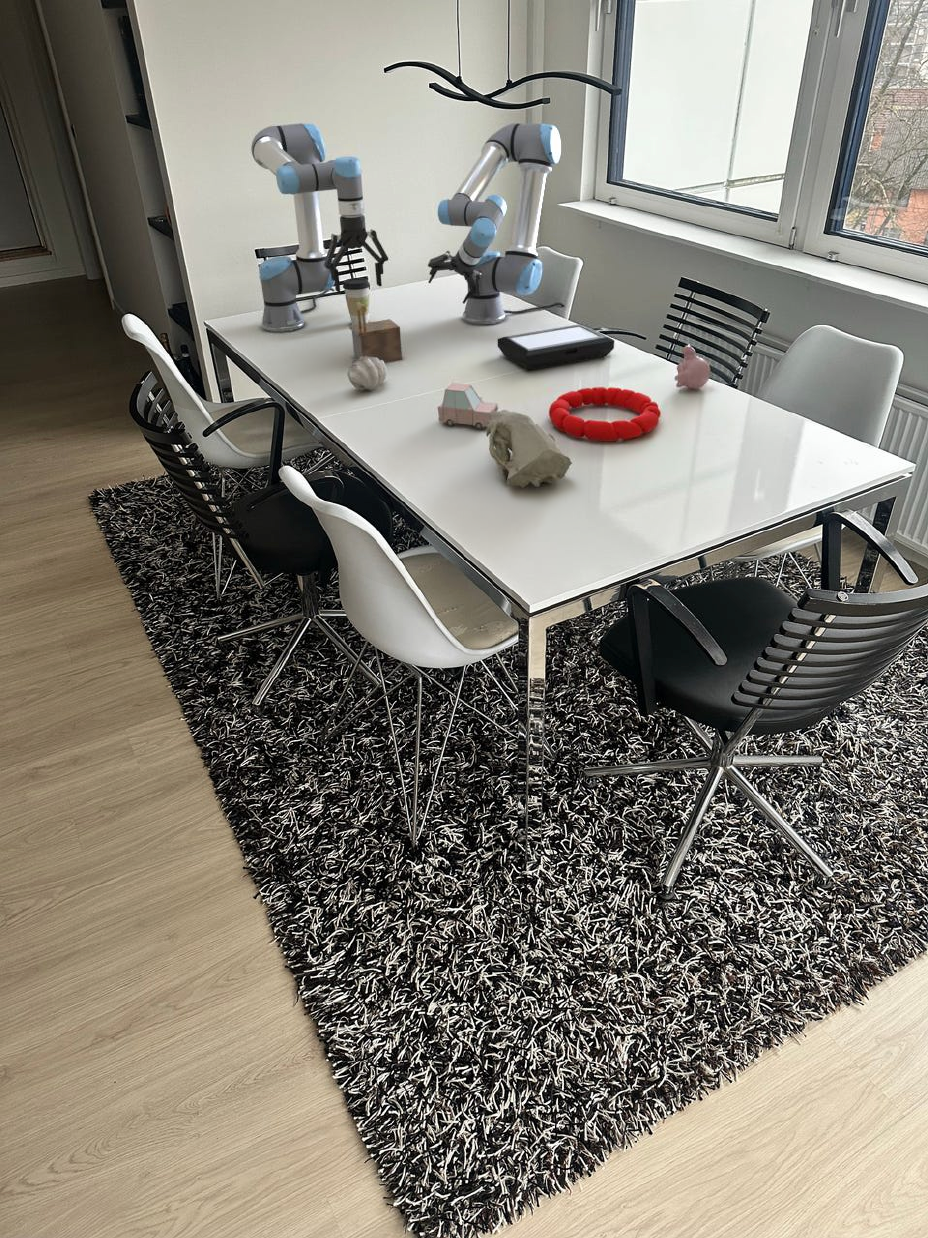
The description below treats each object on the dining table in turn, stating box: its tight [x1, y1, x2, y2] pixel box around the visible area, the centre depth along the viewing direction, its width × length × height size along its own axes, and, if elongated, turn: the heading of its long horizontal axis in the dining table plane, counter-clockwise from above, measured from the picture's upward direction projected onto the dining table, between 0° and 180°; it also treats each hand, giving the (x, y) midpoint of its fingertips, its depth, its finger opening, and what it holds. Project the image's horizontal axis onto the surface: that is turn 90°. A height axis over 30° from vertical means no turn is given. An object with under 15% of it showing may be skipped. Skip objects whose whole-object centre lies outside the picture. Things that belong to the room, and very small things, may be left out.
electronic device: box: [497, 323, 615, 371], centre depth 288 cm, size 32×6×20 cm
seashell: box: [347, 356, 388, 391], centre depth 267 cm, size 10×15×10 cm
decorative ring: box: [548, 386, 661, 442], centre depth 242 cm, size 7×30×30 cm
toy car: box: [437, 382, 499, 431], centre depth 243 cm, size 9×15×10 cm, turn 70°
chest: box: [351, 329, 403, 363], centre depth 291 cm, size 13×10×10 cm
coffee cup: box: [342, 277, 371, 325], centre depth 323 cm, size 10×10×15 cm
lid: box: [348, 302, 401, 337], centre depth 286 cm, size 14×10×9 cm
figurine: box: [674, 344, 711, 390], centre depth 259 cm, size 9×11×12 cm
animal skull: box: [485, 409, 573, 489], centre depth 216 cm, size 17×25×20 cm
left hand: (358, 288), depth 279 cm, fingers open, 13 cm apart
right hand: (447, 290), depth 310 cm, fingers open, 13 cm apart
